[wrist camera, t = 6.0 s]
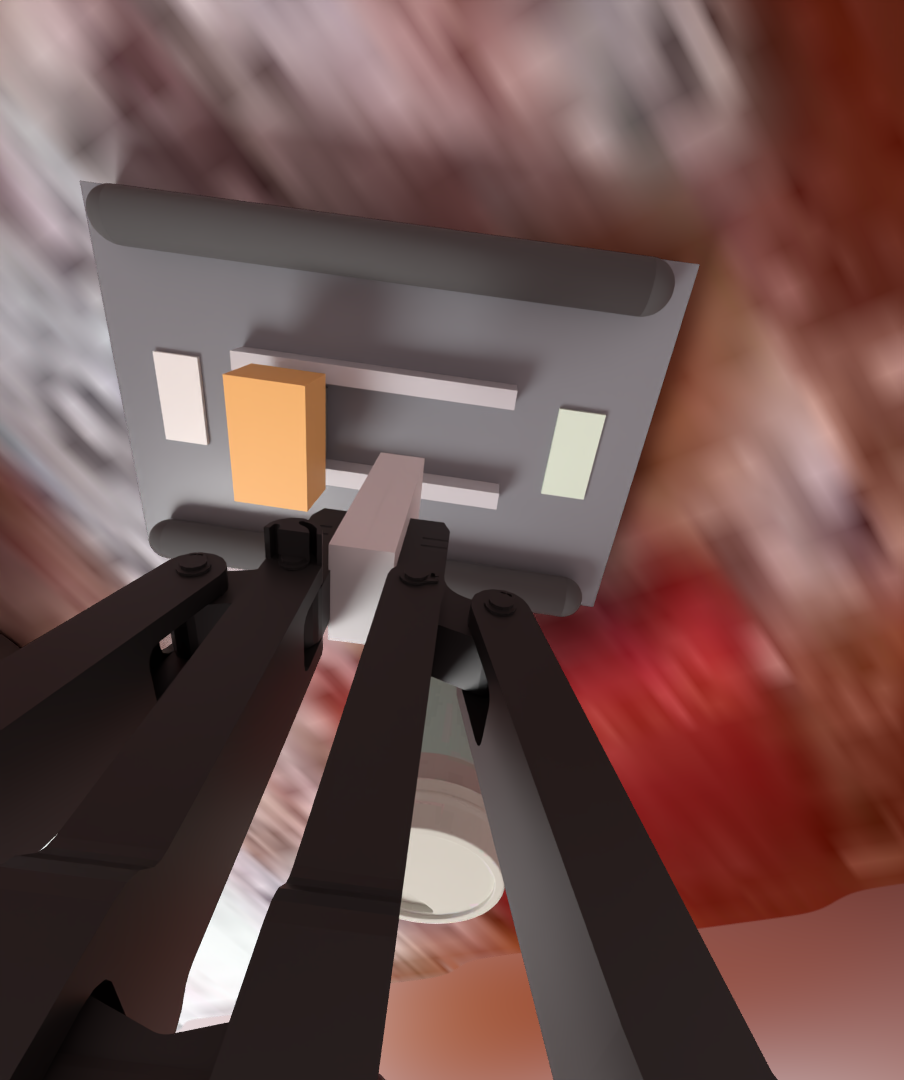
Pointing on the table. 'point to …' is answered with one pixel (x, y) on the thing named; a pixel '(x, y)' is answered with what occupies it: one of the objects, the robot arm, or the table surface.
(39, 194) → the table surface
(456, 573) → the pair of grey bars
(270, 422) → the lever
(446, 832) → the coffee cup
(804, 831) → the table surface
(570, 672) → the table surface
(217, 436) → the slide switch panel
